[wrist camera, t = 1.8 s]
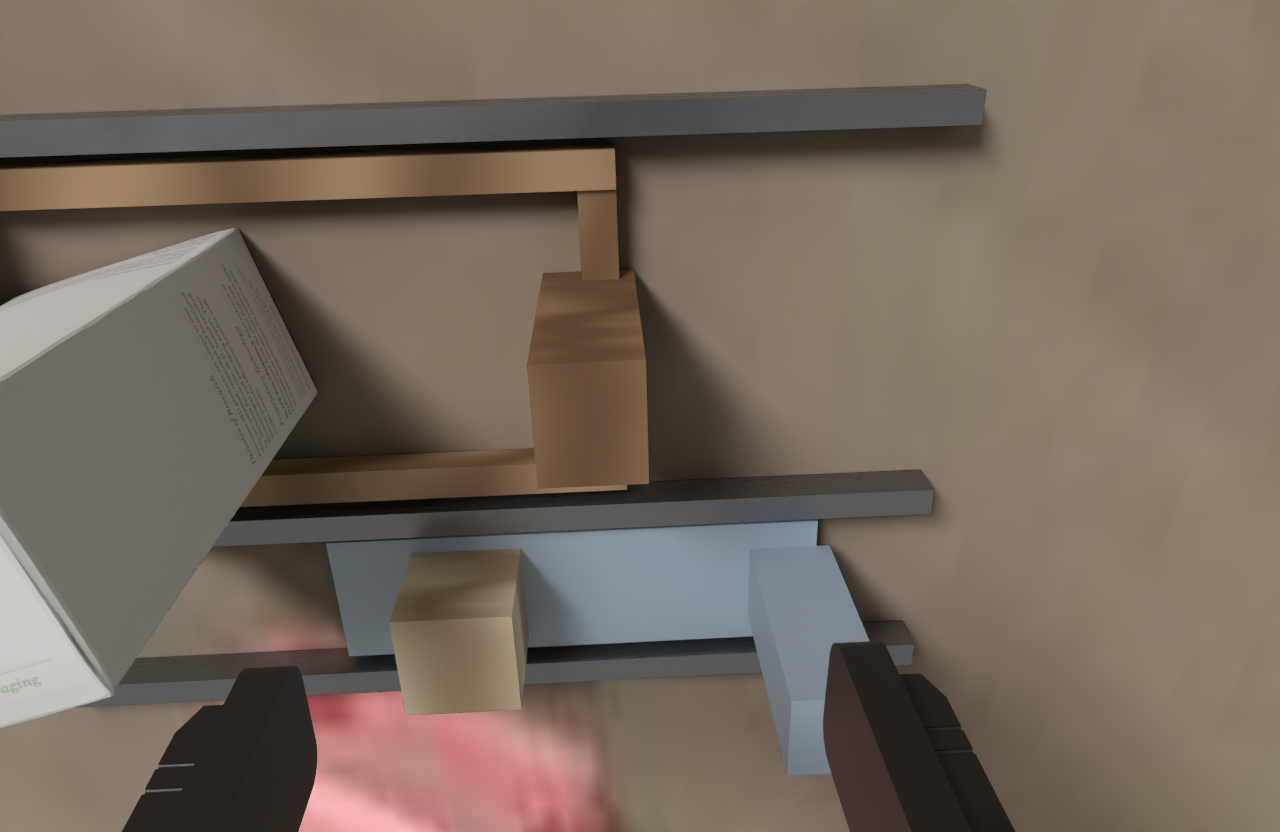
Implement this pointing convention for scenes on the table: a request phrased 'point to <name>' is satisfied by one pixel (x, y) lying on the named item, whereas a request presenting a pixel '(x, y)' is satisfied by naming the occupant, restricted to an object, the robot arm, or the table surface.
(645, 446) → the walnut frame
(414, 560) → the beech cube
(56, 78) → the table surface
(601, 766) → the table surface
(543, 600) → the pale blue bent piece
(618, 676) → the guide rails
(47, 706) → the skincare box
